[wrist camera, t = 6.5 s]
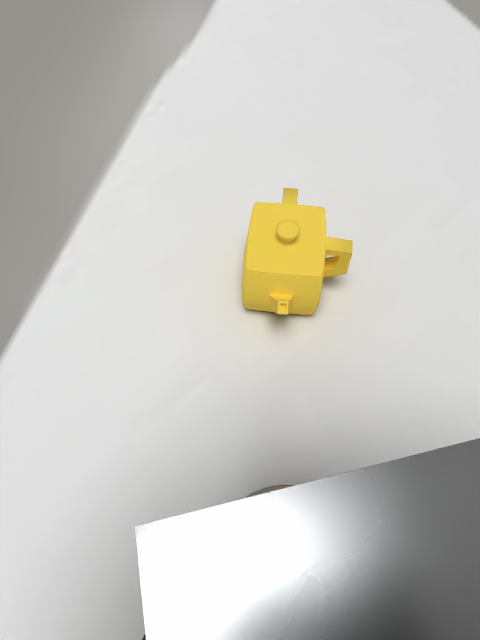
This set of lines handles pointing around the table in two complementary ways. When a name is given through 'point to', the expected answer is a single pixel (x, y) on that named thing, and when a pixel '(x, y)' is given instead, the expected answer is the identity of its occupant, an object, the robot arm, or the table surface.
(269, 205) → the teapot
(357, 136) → the table surface
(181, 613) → the brushed steel square block
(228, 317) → the table surface
